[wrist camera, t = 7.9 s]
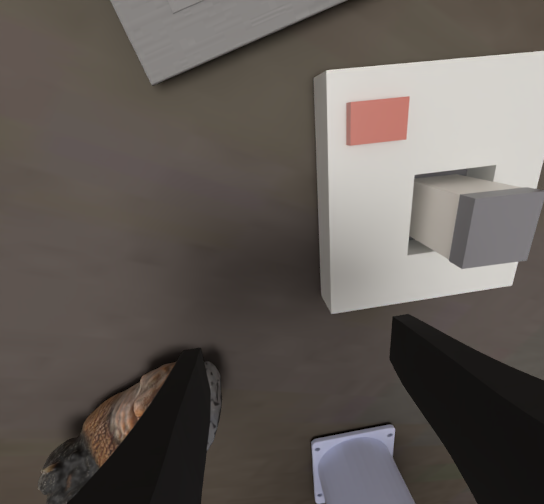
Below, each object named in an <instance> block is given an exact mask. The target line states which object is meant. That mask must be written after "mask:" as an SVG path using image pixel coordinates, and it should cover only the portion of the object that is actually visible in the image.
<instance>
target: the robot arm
mask: <svg viewBox="0 0 544 504" xmlns="http://www.w3.org/2000/svg"><path fill="white" fill-rule="evenodd" d="M390 361H391V363H392V365H393V367H394V369H395V371H396V373H397V375H398V377H399V379H400V380H401V382H402V384H403V386H404V387H405V389H406V390H407V392H408V393H409V395H410V396H411V398H412V399H413V400H414V402H415V403H416V405H417V406H418V408H419V409H420V411H421V412H422V414H423V415H424V417H425V418H426V419H427V421H428V422H429V424H430V425H431V427H432V428H433V430H434V431H435V432H436V434H437V435H438V437H439V438H440V440H441V441H442V443H443V444H444V446H445V447H446V449H447V451H448V452H449V454H450V455H451V457H452V459H453V460H454V462H455V464H456V466H457V467H458V469H459V471H460V473H461V474H462V476H463V478H464V480H465V481H466V483H467V485H468V487H469V489H470V490H471V492H472V494H473V496H474V498H475V500H476V502H477V503H478V504H544V380H541V379H539V378H536V377H534V376H531V375H529V374H527V373H524V372H522V371H519V370H517V369H515V368H512V367H510V366H508V365H506V364H504V363H501V362H499V361H497V360H495V359H493V358H491V357H489V356H487V355H485V354H483V353H481V352H479V351H477V350H475V349H473V348H471V347H469V346H467V345H465V344H463V343H461V342H459V341H457V340H456V339H454V338H452V337H450V336H448V335H446V334H444V333H443V332H441V331H439V330H437V329H435V328H433V327H432V326H430V325H428V324H426V323H424V322H423V321H421V320H419V319H417V318H415V317H413V316H411V315H409V314H406V315H400V316H394V317H393V320H392V333H391V346H390ZM210 413H211V390H210V385H209V381H208V377H207V373H206V368H205V364H204V360H203V356H202V351H201V348H197V349H191V350H185V351H183V352H182V353H181V355H180V356H179V358H178V360H177V362H176V363H175V365H174V367H173V368H172V370H171V372H170V373H169V375H168V377H167V378H166V380H165V381H164V383H163V385H162V386H161V388H160V389H159V391H158V392H157V394H156V395H155V397H154V398H153V400H152V402H151V403H150V404H149V406H148V407H147V409H146V410H145V411H144V413H143V414H142V416H141V417H140V418H139V420H138V421H137V423H136V424H135V425H134V427H133V428H132V429H131V431H130V432H129V433H128V435H127V436H126V437H125V438H124V440H123V441H122V442H121V443H120V445H119V446H118V447H117V448H116V450H115V451H114V452H113V453H112V454H111V456H110V457H109V458H108V459H107V460H106V462H105V463H104V464H103V465H102V466H101V467H100V468H99V469H98V471H97V472H96V473H95V474H94V475H93V476H92V477H91V478H90V479H89V480H88V482H87V483H86V484H85V485H84V486H83V487H82V488H81V489H80V490H79V491H78V492H77V493H76V495H75V496H74V497H73V498H72V499H71V500H70V501H69V502H68V503H67V504H201V495H202V486H203V477H204V469H205V461H206V453H207V444H208V436H209V427H210ZM394 437H395V428H394V426H393V425H391V424H389V425H383V426H378V427H373V428H368V429H363V430H358V431H352V432H347V433H342V434H337V435H332V436H327V437H321V438H316V439H314V440H312V442H311V450H312V465H313V481H314V496H315V502H316V503H318V504H320V503H325V502H326V504H415V502H414V500H413V498H412V496H411V494H410V492H409V490H408V488H407V486H406V484H405V482H404V480H403V478H402V476H401V474H400V472H399V470H398V468H397V466H396V464H395V462H394V460H393V447H394Z"/></svg>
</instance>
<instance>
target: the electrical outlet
mask: <svg viewBox="0 0 544 504" xmlns="http://www.w3.org/2000/svg"><path fill="white" fill-rule="evenodd" d="M110 1H111V3H112V5H113V7H114V9H115V11H116V13H117V15H118V18H119V20H120V22H121V24H122V26H123V28H124V30H125V32H126V34H127V36H128V38H129V40H130V42H131V44H132V46H133V48H134V50H135V52H136V54H137V56H138V58H139V60H140V62H141V64H142V66H143V68H144V71H145V73H146V75H147V77H148V79H149V81H150V83H151V85H153V86H154V85H156V84H158V83H160V82H163V81H165V80H167V79H170V78H172V77H174V76H176V75H179V74H181V73H183V72H185V71H188V70H190V69H192V68H195V67H197V66H199V65H201V64H204V63H206V62H208V61H211V60H213V59H215V58H217V57H220V56H222V55H224V54H226V53H229V52H231V51H233V50H236V49H238V48H240V47H242V46H245V45H247V44H249V43H252V42H254V41H256V40H258V39H261V38H263V37H265V36H268V35H270V34H272V33H274V32H277V31H279V30H281V29H283V28H286V27H288V26H290V25H293V24H295V23H297V22H299V21H302V20H304V19H306V18H309V17H311V16H313V15H315V14H318V13H320V12H322V11H324V10H327V9H329V8H331V7H334V6H336V5H338V4H340V3H343V2H345V1H347V0H110Z"/></svg>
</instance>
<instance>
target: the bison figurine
mask: <svg viewBox="0 0 544 504" xmlns="http://www.w3.org/2000/svg"><path fill="white" fill-rule="evenodd" d="M175 363H176V362H173V363H169V364H164V365H162V366H160V367H159V368H157V369H155V370H152V371H150V372H149V373H147V374H145V375H143V376H142V378H141V380H140V382H139V383H137V384H135V385H133V386H132V387H130V388H129V389H127V390H125V391H123V392H120V393H118V394H116V395H114V396H113V397H111V398H109V399H108V400H106V401H105V402H103V403H102V404H101V405H100V406H99V407H98V408H96V409H95V411H94V412H93V413H91V414H90V415H89V416H88V418H87V419H86V421H85V422H84V424H83V428H82V431H81V434H80V436H79V437H77V438H72V439H69V440H67V441H66V442H64V443H63V444H61V445H60V446H58V447H57V448H56V449H55V450H54V451H53V452H52V453H51V454H50V456H49V457H48V459H47V461H46V463H45V465H44V467H43V469H41V476H40V479H39V481H38V489H39V490H40V491H41V492H42V493H43V494H44V495H47V502H46V504H67V503H68V502H69V501H70V500H71V499H72V498H73V497H74V496H75V495H76V493H77V492H78V491H79V490H80V489H81V488H82V487H83V486H84V485H85V484H86V483H87V482H88V480H89V479H90V478H91V477H92V476H93V475H94V474H95V473H96V472H97V471H98V469H99V468H100V467H101V466H102V465H103V464H104V463H105V462H106V460H107V459H108V458H109V457H110V456H111V454H112V453H113V452H114V451H115V450H116V448H117V447H118V446H119V445H120V443H121V442H122V441H123V440H124V438H125V437H126V436H127V435H128V433H129V432H130V431H131V429H132V428H133V427H134V425H135V424H136V423H137V421H138V420H139V418H140V417H141V416H142V414H143V413H144V411H145V410H146V409H147V407H148V406H149V404H150V403H151V402H152V400H153V398H154V397H155V395H156V394H157V392H158V391H159V389H160V388H161V386H162V385H163V383H164V381H165V380H166V378H167V377H168V375H169V373H170V372H171V370H172V368H173V367H174V365H175ZM204 364H205V368H206V373H207V377H208V381H209V385H210V390H211V413H210V427H209V436H208V444H207V450H208V449H209V447H210V446H211V444H212V442H213V440H214V437H215V434H216V430H217V427H218V423H219V418H220V412H221V404H222V395H221V376H220V374H219V372H218V370H217V368H216V367H215V365H214V364H212V363H211V362H209V361H206V362H204Z"/></svg>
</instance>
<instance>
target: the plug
mask: <svg viewBox="0 0 544 504" xmlns="http://www.w3.org/2000/svg"><path fill="white" fill-rule="evenodd" d="M543 201H544V190H539V189H534V188H529V187H524V188H522V187H517V186H512V185H507V184H502V183H498V182H493V181H488V180H483V179H478V178H473V177H468V176H463V175H458V174H454V175H444V176H434V177H425V178H415V179H414V187H413V198H412V209H411V221H410V232H409V236H410V237H412V238H414V239H415V240H417V241H419V242H420V243H422V244H424V245H425V246H427V247H429V248H430V249H432V250H434V251H435V252H437V253H439V254H440V255H442V256H444V257H445V258H447V259H449V262H451V263H453V264H454V265H456V266H458V267H459V268H461V269H467V268H474V267H481V266H489V265H496V264H504V263H511V262H519V261H526V260H527V258H528V254H529V251H530V247H531V244H532V240H533V237H534V233H535V230H536V226H537V223H538V219H539V215H540V212H541V208H542V205H543Z"/></svg>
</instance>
